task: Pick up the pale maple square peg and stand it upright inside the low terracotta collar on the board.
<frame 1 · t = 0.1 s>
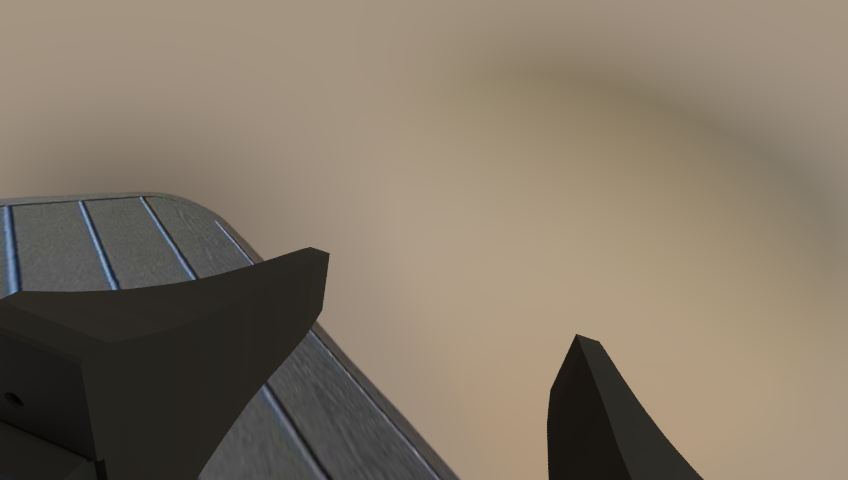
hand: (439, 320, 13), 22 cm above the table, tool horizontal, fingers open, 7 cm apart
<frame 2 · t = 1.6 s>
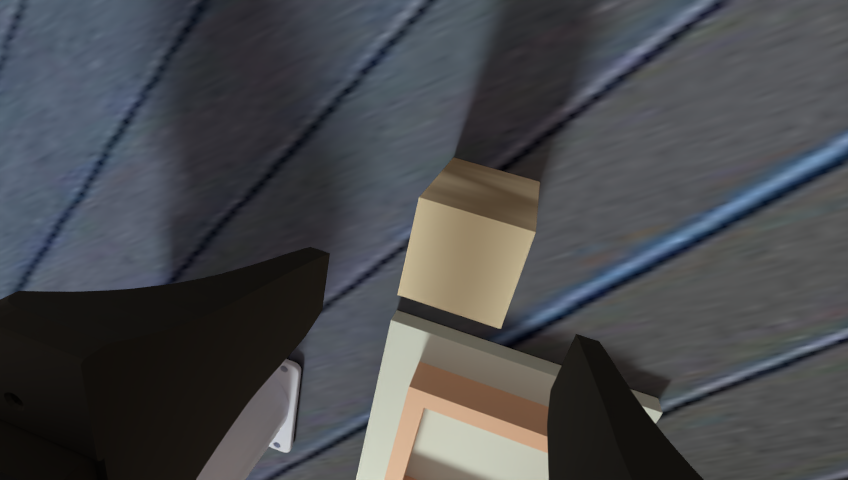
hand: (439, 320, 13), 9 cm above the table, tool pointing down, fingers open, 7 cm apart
collar board: (486, 442, 27), on the table
maple peg: (484, 209, 21), on the table
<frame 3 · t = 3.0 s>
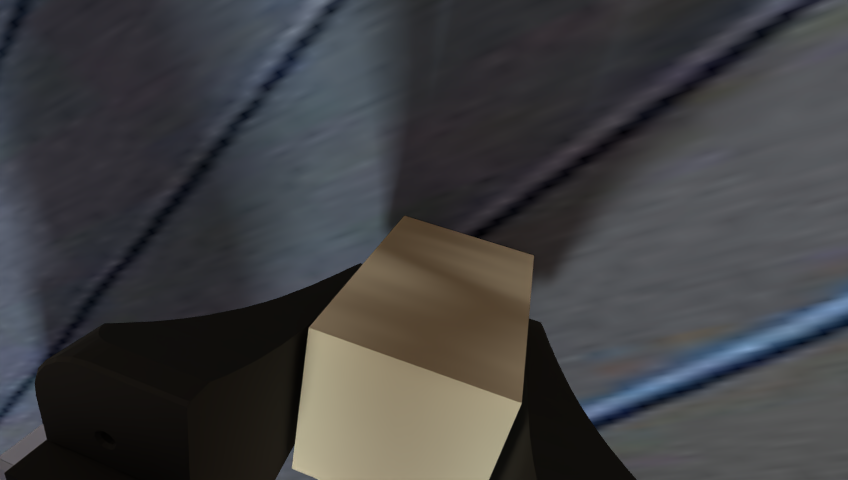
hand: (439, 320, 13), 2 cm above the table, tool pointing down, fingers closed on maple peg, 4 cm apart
maple peg: (451, 290, 14), on the table, touching gripper
when the fingers open (4 cm above the table, at t = 7.5 s): maple peg stays where it is, resting on collar board.
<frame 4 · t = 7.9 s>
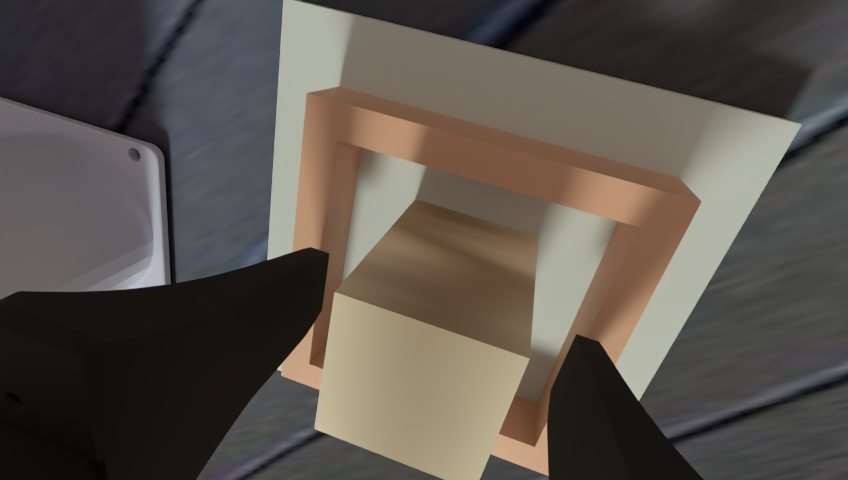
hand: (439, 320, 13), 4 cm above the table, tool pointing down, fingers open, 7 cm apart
collar board: (463, 263, 16), on the table
maple peg: (459, 271, 15), point 1 cm above the table, touching collar board
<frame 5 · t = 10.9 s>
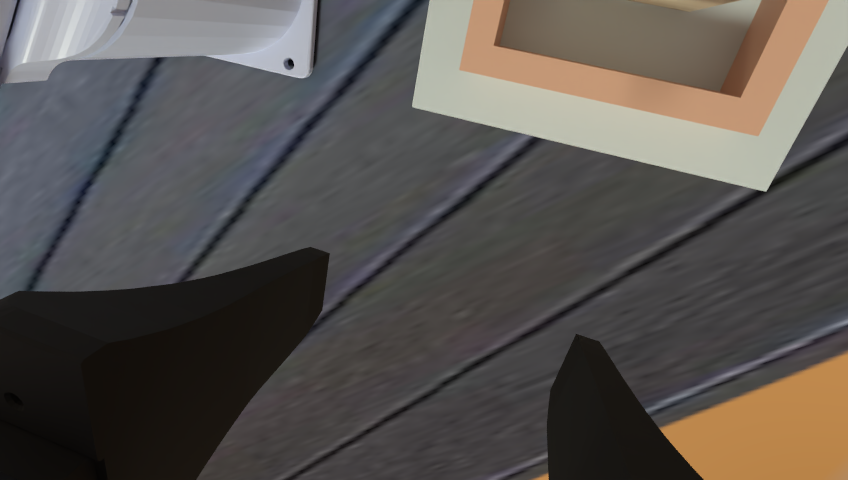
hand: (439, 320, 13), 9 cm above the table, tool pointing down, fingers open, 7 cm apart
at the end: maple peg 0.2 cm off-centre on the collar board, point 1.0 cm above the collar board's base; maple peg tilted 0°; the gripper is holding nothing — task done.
